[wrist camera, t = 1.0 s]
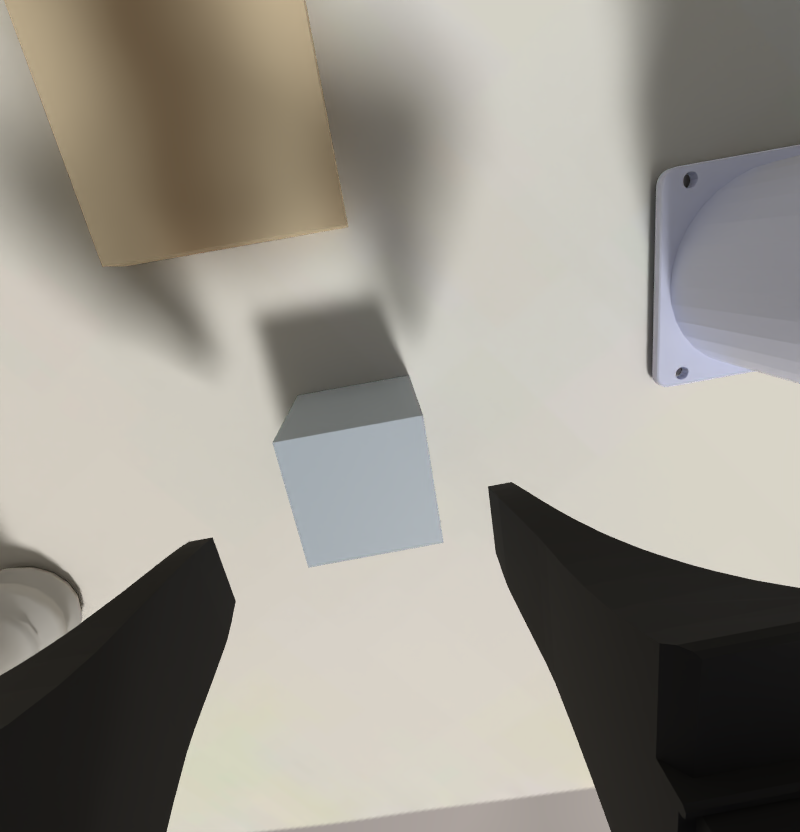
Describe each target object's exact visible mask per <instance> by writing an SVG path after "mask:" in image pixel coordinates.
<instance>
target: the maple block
mask: <svg viewBox="0 0 800 832" xmlns="http://www.w3.org/2000/svg"><path fill="white" fill-rule="evenodd" d="M4 1H5V4H6V7H7V9H8V12H9V15H10V18H11V20H12V23H13V26H14V28H15V31H16V34H17V36H18V39H19V42H20V45H21V47H22V50H23V53H24V55H25V58H26V61H27V64H28V66H29V69H30V72H31V74H32V77H33V80H34V83H35V85H36V88H37V91H38V93H39V96H40V99H41V102H42V104H43V107H44V110H45V112H46V115H47V118H48V121H49V123H50V126H51V129H52V131H53V134H54V137H55V140H56V142H57V145H58V148H59V150H60V153H61V156H62V159H63V161H64V164H65V167H66V169H67V172H68V175H69V178H70V180H71V183H72V186H73V188H74V191H75V194H76V197H77V199H78V202H79V205H80V207H81V210H82V213H83V216H84V218H85V221H86V224H87V226H88V229H89V232H90V235H91V237H92V240H93V243H94V245H95V248H96V251H97V253H98V256H99V259H100V262H101V264H102V267H105V266H130V265H136V264H142V263H147V262H153V261H159V260H164V259H170V258H176V257H181V256H187V255H193V254H198V253H204V252H210V251H215V250H221V249H227V248H232V247H238V246H244V245H249V244H255V243H261V242H266V241H272V240H278V239H284V238H289V237H295V236H301V235H306V234H312V233H318V232H323V231H329V230H335V229H340V228H346V227H348V223H347V218H346V212H345V207H344V202H343V197H342V191H341V186H340V181H339V175H338V170H337V165H336V160H335V154H334V149H333V144H332V139H331V133H330V128H329V123H328V117H327V112H326V107H325V102H324V96H323V91H322V86H321V80H320V75H319V70H318V65H317V59H316V54H315V49H314V43H313V38H312V33H311V28H310V22H309V17H308V12H307V7H306V1H305V0H4Z"/></svg>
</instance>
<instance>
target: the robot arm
mask: <svg viewBox="0 0 800 832" xmlns="http://www.w3.org/2000/svg"><path fill="white" fill-rule="evenodd" d="M686 174H688V175H689V176H690V183H689V186H688V187H687V188H686V187H685V186H684V184H683V179H684V176H685V175H686ZM680 367H682V372H681V374H680V375H679V376H677V377H676V371H677V370H678V369H679V368H680ZM754 371H757V372H760V373H764V374H767V375H771V376H774V377H778V378H781V379H785V380H788V381H792V382H795V383H799V384H800V144H799V145H794V146H788V147H782V148H777V149H771V150H766V151H760V152H755V153H749V154H743V155H738V156H732V157H727V158H721V159H715V160H710V161H704V162H699V163H693V164H688V165H682V166H676V167H673V168H670V169H667V170H665V171H664V172H663V173H662V174H661V175H660V176H659V178H658V180H657V185H656V220H655V269H654V318H653V367H652V376H653V380H654V382H655V383H656V384H658V385H661V386H663V387H671V386H677V385H682V384H688V383H693V382H699V381H704V380H710V379H715V378H721V377H726V376H732V375H737V374H743V373H748V372H754ZM488 490H489V498H490V507H491V515H492V524H493V533H494V541H495V550H496V555H497V557H498V560H499V563H500V566H501V569H502V572H503V575H504V577H505V580H506V583H507V586H508V588H509V590H510V592H511V594H512V596H513V598H514V600H515V602H516V604H517V606H518V608H519V610H520V612H521V614H522V616H523V618H524V620H525V622H526V624H527V626H528V628H529V630H530V632H531V634H532V636H533V638H534V640H535V642H536V644H537V646H538V648H539V650H540V652H541V654H542V656H543V658H544V660H545V662H546V664H547V666H548V668H549V670H550V672H551V675H552V677H553V679H554V681H555V683H556V686H557V688H558V691H559V693H560V696H561V699H562V701H563V704H564V706H565V709H566V711H567V714H568V717H569V719H570V722H571V724H572V727H573V729H574V732H575V735H576V737H577V740H578V743H579V745H580V748H581V751H582V753H583V756H584V759H585V761H586V764H587V767H588V769H589V772H590V775H591V777H592V780H593V783H594V785H595V788H596V791H597V794H598V796H599V799H600V802H601V805H602V808H603V810H604V812H605V816H606V819H607V821H608V824H609V827H610V830H611V832H800V588H796V587H790V586H784V585H779V584H773V583H767V582H761V581H756V580H751V579H746V578H742V577H738V576H733V575H729V574H725V573H720V572H716V571H712V570H708V569H704V568H701V567H697V566H693V565H690V564H686V563H683V562H680V561H677V560H673V559H670V558H667V557H664V556H660V555H657V554H654V553H651V552H649V551H646V550H643V549H640V548H638V547H635V546H633V545H630V544H628V543H625V542H622V541H620V540H617V539H615V538H613V537H610V536H608V535H606V534H603V533H601V532H599V531H597V530H595V529H593V528H591V527H589V526H587V525H585V524H583V523H581V522H579V521H577V520H575V519H573V518H571V517H569V516H567V515H566V514H564V513H562V512H560V511H559V510H557V509H555V508H553V507H552V506H550V505H548V504H547V503H545V502H543V501H542V500H540V499H538V498H537V497H535V496H533V495H532V494H530V493H529V492H527V491H525V490H524V489H522V488H520V487H519V486H517V485H515V484H514V483H512V482H510V483H505V484H499V485H494V486H488ZM235 602H236V601H235V598H234V595H233V593H232V590H231V587H230V584H229V582H228V579H227V576H226V573H225V571H224V568H223V565H222V562H221V560H220V557H219V554H218V551H217V549H216V546H215V543H214V540H213V538H207V539H202V540H197V541H191V542H188V543H187V544H185V545H183V546H182V547H180V548H179V549H177V550H176V551H175V552H173V553H172V554H171V555H169V556H168V557H167V558H165V559H164V560H163V561H161V562H160V563H159V564H158V565H156V566H155V567H154V568H153V569H151V570H150V571H149V572H147V573H146V574H145V575H144V576H142V577H141V578H140V579H139V580H137V581H136V582H135V583H133V584H132V585H131V586H130V587H128V588H127V589H126V590H125V591H123V592H122V593H121V594H119V595H118V596H117V597H115V598H114V599H113V600H111V601H110V602H109V603H107V604H106V605H105V606H103V607H102V608H101V609H99V610H98V611H97V612H95V613H94V614H93V615H91V616H90V617H89V618H87V619H86V620H84V621H83V622H82V623H80V624H79V625H78V626H76V627H75V628H73V629H72V630H71V631H69V632H68V633H66V634H65V635H63V636H62V637H60V638H59V639H57V640H56V641H55V642H53V643H52V644H50V645H48V646H47V647H45V648H44V649H42V650H41V651H39V652H38V653H36V654H35V655H33V656H31V657H30V658H28V659H27V660H25V661H24V662H22V663H20V664H19V665H17V666H16V667H14V668H12V669H10V670H9V671H7V672H5V673H4V674H2V675H0V832H166V831H167V827H168V823H169V819H170V815H171V810H172V806H173V802H174V798H175V795H176V791H177V787H178V783H179V780H180V776H181V772H182V768H183V765H184V761H185V757H186V753H187V750H188V747H189V744H190V741H191V738H192V735H193V732H194V729H195V727H196V724H197V721H198V718H199V716H200V713H201V710H202V708H203V705H204V702H205V700H206V697H207V694H208V691H209V689H210V686H211V683H212V681H213V678H214V675H215V673H216V670H217V667H218V664H219V661H220V659H221V656H222V653H223V650H224V648H225V645H226V642H227V639H228V634H229V630H230V626H231V622H232V617H233V612H234V607H235Z"/></svg>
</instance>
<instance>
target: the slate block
mask: <svg viewBox="0 0 800 832" xmlns="http://www.w3.org/2000/svg"><path fill="white" fill-rule="evenodd" d="M273 446H274V449H275V453H276V456H277V460H278V463H279V467H280V470H281V474H282V477H283V481H284V484H285V488H286V491H287V495H288V498H289V502H290V505H291V508H292V512H293V515H294V519H295V522H296V526H297V529H298V533H299V536H300V540H301V543H302V547H303V550H304V554H305V557H306V561H307V564H308V568H309V567H314V566H320V565H325V564H330V563H336V562H341V561H347V560H352V559H358V558H363V557H368V556H374V555H379V554H385V553H390V552H396V551H401V550H406V549H412V548H417V547H423V546H428V545H434V544H439V543H444V542H443V536H442V530H441V524H440V518H439V511H438V505H437V499H436V493H435V487H434V480H433V474H432V468H431V462H430V456H429V450H428V443H427V437H426V431H425V425H424V419H423V414H422V411H421V408H420V405H419V403H418V400H417V397H416V394H415V391H414V388H413V385H412V383H411V380H410V377H409V375H407V376H402V377H396V378H391V379H385V380H380V381H374V382H369V383H363V384H358V385H352V386H347V387H341V388H336V389H330V390H325V391H319V392H314V393H308V394H303V395H298V396H297V398H296V400H295V402H294V403H293V405H292V407H291V409H290V411H289V413H288V415H287V417H286V418H285V420H284V422H283V424H282V426H281V428H280V430H279V432H278V433H277V435H276V437H275V439H274V441H273Z"/></svg>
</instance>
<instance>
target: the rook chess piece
mask: <svg viewBox="0 0 800 832" xmlns="http://www.w3.org/2000/svg"><path fill="white" fill-rule="evenodd" d="M81 620H82V613H81V607H80V602H79V598H78V595H77V593H76V592H75V591H74V589H73V588H72V587H71V585H70V584H69V583H68V582H67V581H65V580H64V579H62V578H61V577H59V576H58V575H56V574H55V573H53V572H49V571H46V570H43V569H39V568H36V567H16V568H6V569H3V570H0V675H2V674H4V673H5V672H7V671H9V670H10V669H12V668H14V667H16V666H17V665H19V664H20V663H22V662H24V661H25V660H27V659H28V658H30V657H31V656H33V655H35V654H36V653H38V652H39V651H41V650H42V649H44V648H45V647H47V646H48V645H50V644H52V643H53V642H55V641H56V640H57V639H59V638H60V637H62V636H63V635H65V634H66V633H68V632H69V631H71V630H72V629H73V628H75V627H76V626H78V625H79V624H80V623H81Z"/></svg>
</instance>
